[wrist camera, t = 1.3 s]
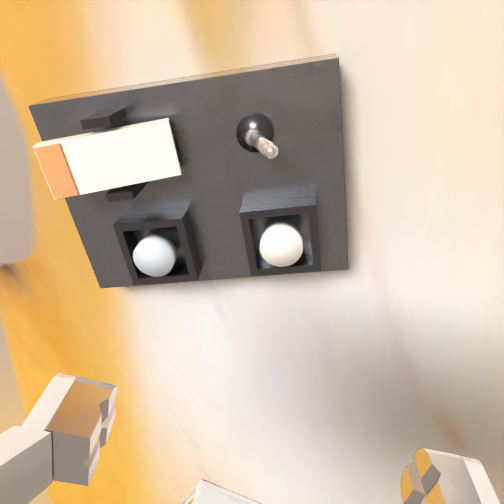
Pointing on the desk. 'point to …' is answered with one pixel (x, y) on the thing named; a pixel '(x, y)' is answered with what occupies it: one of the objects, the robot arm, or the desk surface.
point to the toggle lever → (261, 143)
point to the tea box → (214, 495)
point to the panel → (217, 171)
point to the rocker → (108, 158)
